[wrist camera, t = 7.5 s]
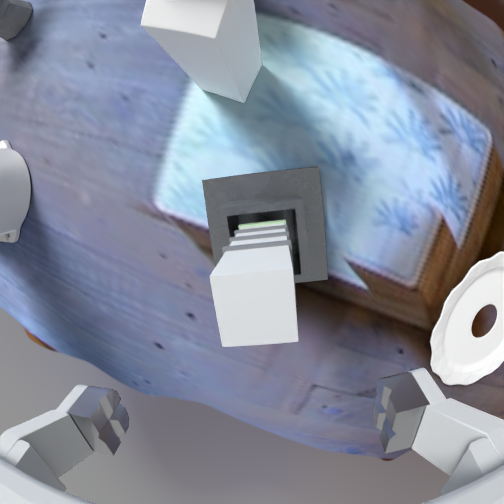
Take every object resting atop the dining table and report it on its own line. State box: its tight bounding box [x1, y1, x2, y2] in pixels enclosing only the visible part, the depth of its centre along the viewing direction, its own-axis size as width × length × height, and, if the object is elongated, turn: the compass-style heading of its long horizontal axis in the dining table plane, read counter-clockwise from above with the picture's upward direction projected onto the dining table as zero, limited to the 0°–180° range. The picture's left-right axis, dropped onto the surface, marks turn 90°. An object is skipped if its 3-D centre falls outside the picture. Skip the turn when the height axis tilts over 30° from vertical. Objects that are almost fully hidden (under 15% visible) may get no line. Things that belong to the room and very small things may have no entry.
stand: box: [202, 167, 328, 283], centre depth 32 cm, size 14×14×10 cm
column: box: [210, 220, 298, 347], centre depth 22 cm, size 4×4×16 cm
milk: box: [141, 0, 262, 103], centre depth 22 cm, size 6×6×22 cm
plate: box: [430, 251, 504, 385], centre depth 37 cm, size 25×25×2 cm
